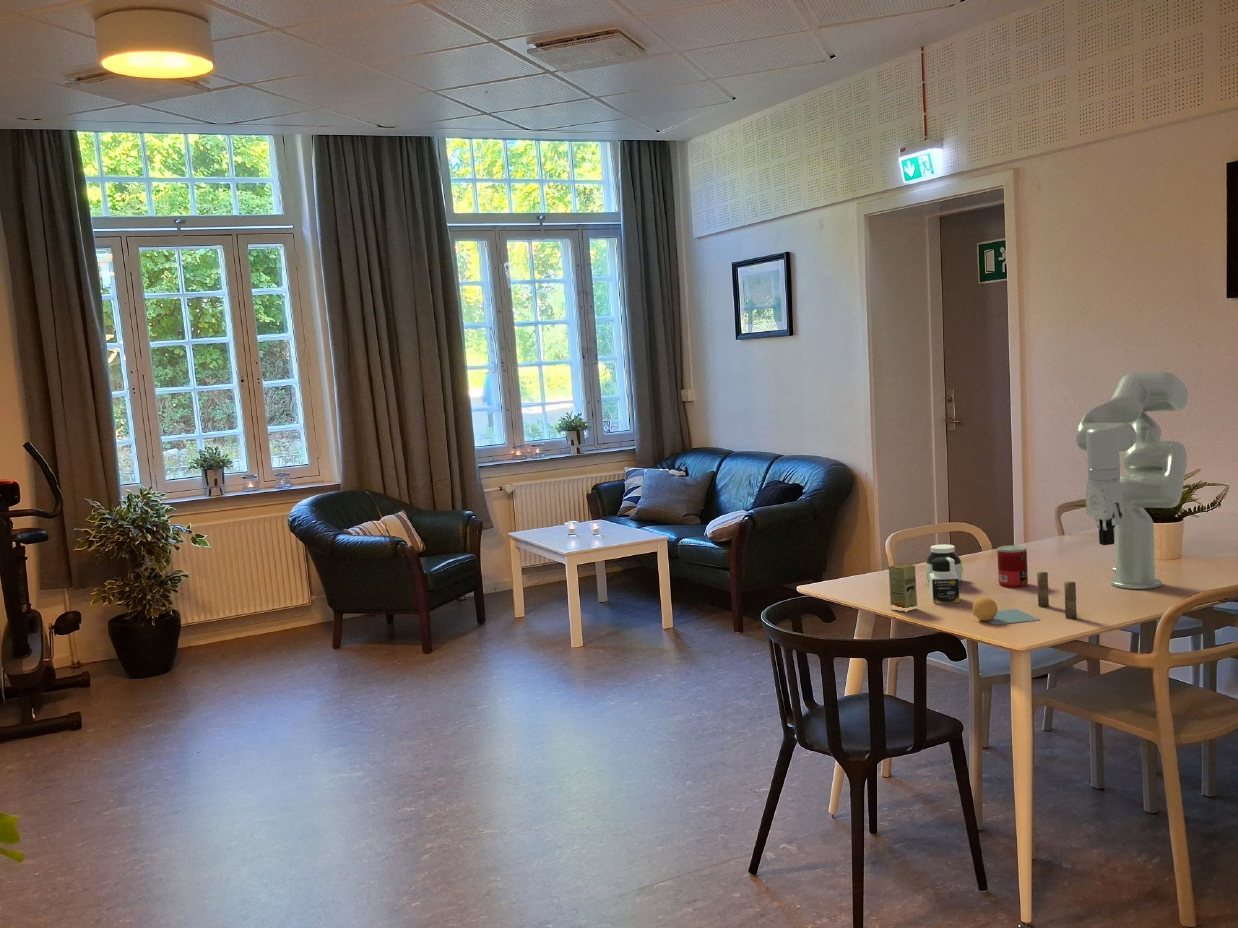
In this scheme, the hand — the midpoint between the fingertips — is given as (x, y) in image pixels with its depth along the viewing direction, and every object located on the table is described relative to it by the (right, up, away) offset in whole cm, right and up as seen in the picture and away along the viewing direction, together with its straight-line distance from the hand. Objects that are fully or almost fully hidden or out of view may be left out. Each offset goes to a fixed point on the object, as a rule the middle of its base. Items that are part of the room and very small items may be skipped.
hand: (1106, 544), depth 265 cm
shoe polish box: (-49, -19, +13) cm, 54 cm away
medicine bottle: (-36, -18, +20) cm, 45 cm away
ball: (-33, -16, -4) cm, 37 cm away
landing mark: (-27, -19, -2) cm, 33 cm away
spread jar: (-29, -15, +40) cm, 51 cm away
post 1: (-14, -17, +6) cm, 23 cm away
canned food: (-12, -15, +31) cm, 37 cm away
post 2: (-13, -18, -7) cm, 23 cm away
